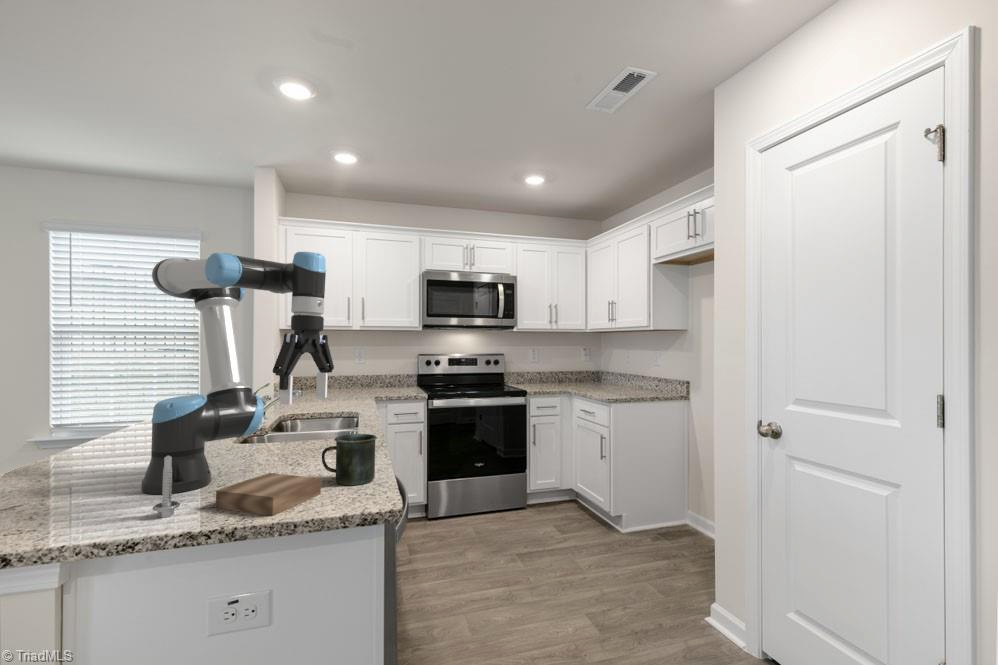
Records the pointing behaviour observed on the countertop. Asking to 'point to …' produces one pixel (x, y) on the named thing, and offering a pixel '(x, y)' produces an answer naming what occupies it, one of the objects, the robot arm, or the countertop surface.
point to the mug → (353, 459)
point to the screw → (166, 492)
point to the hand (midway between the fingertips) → (304, 400)
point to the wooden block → (268, 493)
